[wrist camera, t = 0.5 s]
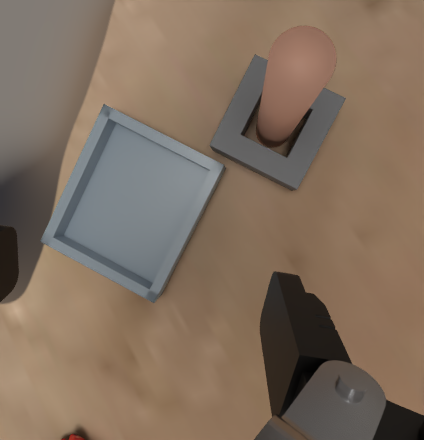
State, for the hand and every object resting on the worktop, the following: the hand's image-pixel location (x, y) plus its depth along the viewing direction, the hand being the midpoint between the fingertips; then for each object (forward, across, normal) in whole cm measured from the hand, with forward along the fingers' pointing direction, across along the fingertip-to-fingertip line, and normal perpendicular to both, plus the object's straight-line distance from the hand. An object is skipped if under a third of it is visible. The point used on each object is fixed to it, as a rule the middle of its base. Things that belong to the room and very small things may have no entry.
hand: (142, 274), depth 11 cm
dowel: (+26, -7, -3) cm, 27 cm away
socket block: (+26, -7, -3) cm, 27 cm away
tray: (+24, +5, +7) cm, 26 cm away
